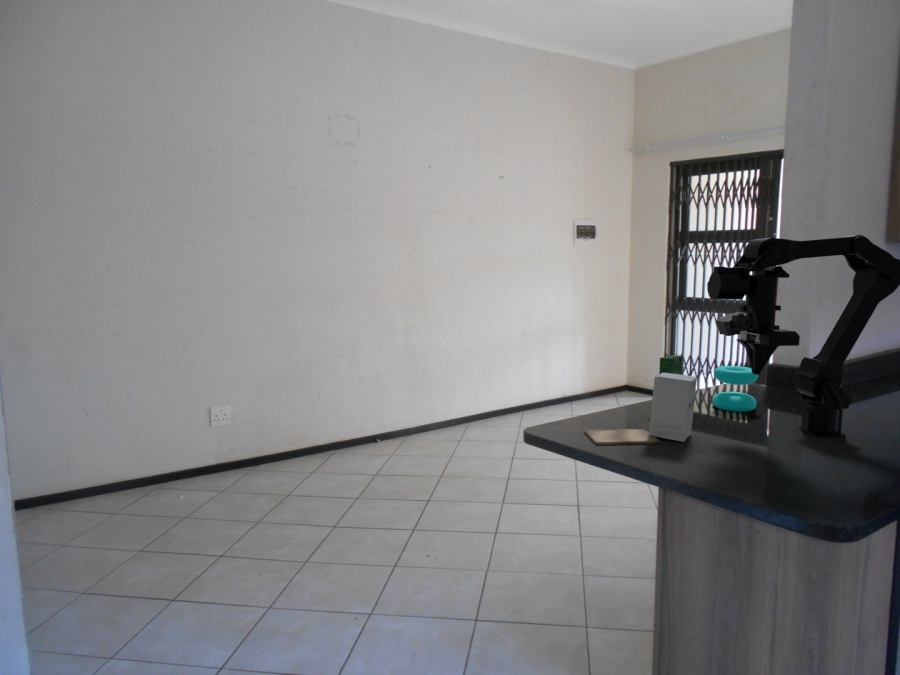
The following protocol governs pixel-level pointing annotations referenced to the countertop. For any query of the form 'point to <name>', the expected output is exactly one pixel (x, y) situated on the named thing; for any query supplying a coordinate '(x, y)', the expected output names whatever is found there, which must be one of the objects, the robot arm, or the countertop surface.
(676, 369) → the coffee box
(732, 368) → the donuts
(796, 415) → the countertop surface
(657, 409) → the supplement box
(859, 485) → the countertop surface
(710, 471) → the countertop surface
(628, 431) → the wooden board
